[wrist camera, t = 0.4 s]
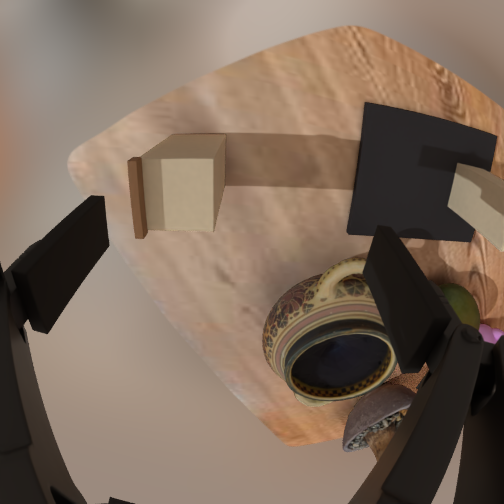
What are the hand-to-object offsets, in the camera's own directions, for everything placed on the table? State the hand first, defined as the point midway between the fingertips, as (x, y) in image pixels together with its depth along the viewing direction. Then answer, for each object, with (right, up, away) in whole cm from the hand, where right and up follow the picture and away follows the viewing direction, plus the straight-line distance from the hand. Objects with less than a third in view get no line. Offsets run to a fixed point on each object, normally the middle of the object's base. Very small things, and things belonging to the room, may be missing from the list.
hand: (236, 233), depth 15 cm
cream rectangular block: (-5, +9, +20) cm, 23 cm away
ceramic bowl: (+11, -8, +30) cm, 33 cm away
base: (+23, +8, +20) cm, 32 cm away
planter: (+25, -30, +42) cm, 58 cm away
